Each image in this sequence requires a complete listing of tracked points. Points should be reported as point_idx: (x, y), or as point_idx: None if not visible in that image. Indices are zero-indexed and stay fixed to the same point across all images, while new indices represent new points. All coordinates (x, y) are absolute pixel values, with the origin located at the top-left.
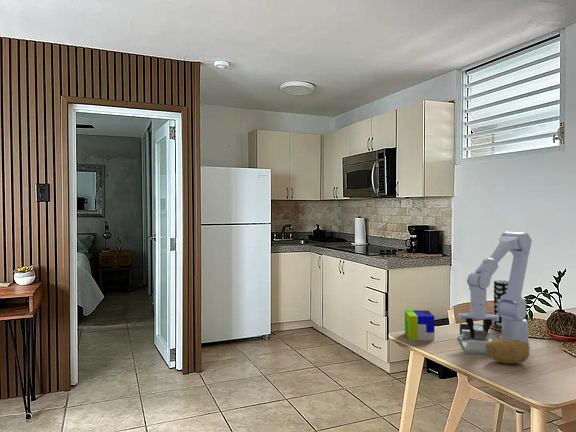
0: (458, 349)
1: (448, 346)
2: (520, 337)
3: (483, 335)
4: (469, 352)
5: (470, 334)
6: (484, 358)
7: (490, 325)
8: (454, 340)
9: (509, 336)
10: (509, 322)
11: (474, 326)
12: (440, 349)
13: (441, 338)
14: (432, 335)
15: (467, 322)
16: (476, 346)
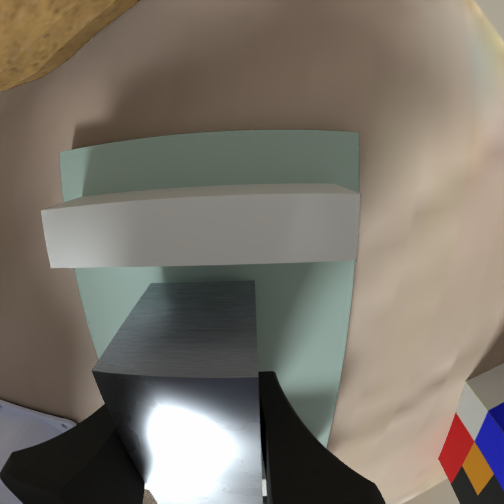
0: (389, 238)
1: (437, 294)
2: (5, 427)
3: (144, 336)
4: (323, 132)
5: (261, 460)
6: (206, 39)
7: (30, 450)
8: (356, 420)
9: (39, 440)
10: (9, 498)
11: (235, 500)
12: (495, 212)
13: (416, 423)
14: (488, 394)
15: (381, 497)
16: (252, 186)
